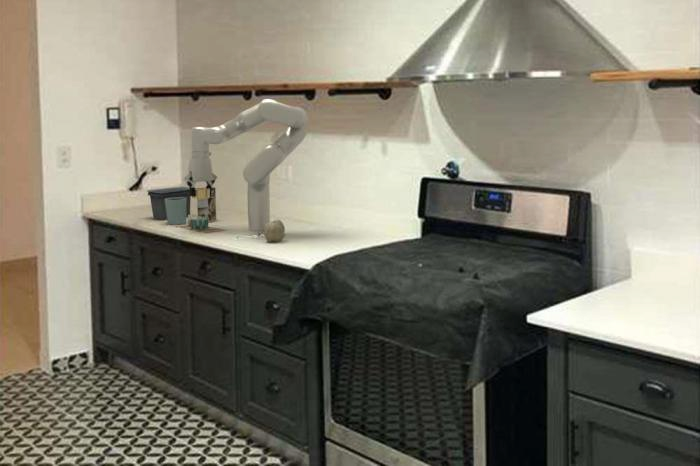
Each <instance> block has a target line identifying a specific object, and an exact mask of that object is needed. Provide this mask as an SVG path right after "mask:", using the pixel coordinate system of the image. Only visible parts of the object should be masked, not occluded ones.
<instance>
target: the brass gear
mask: <svg viewBox="0 0 700 466" xmlns="http://www.w3.org/2000/svg"><path fill="white" fill-rule="evenodd" d="M206 198H207V199H208V198H210V189H209V188H206V187H195V197H192V196H191V199H196V200H197V199H206Z"/></svg>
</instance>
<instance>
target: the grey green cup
mask: <svg viewBox="0 0 700 466" xmlns="http://www.w3.org/2000/svg"><path fill="white" fill-rule="evenodd" d="M165 206H166V213H167V218H168V219H167V224H168V225H170V226H183V225H187V217H186V198H183V197H176V198H167V199H165Z"/></svg>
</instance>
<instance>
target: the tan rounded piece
mask: <svg viewBox="0 0 700 466" xmlns="http://www.w3.org/2000/svg"><path fill="white" fill-rule="evenodd" d="M285 227H286V226H285V225H284V222H282V220H280V219H275V220H273V221H272V220H270V222H269V223H268V224H266V226H265V228H264V231H262V232H261V233H262V234H261V235H263V236H264V238H265V239H266V241H267V242H268V243H279V242H280V241H282V240H283V239H284V238H285V237H286V234H285V232H286V228H285Z"/></svg>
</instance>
